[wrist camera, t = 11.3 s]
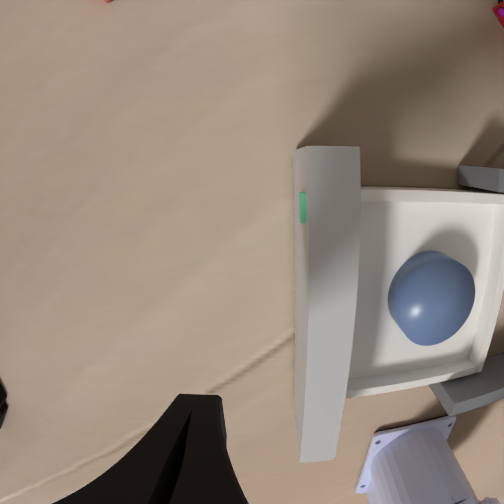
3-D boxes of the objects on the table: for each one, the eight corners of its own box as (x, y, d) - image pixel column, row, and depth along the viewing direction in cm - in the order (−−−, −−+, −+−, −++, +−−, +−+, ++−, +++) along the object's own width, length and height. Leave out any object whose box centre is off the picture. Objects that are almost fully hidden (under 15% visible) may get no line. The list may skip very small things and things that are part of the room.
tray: (464, 379, 20) (495, 418, 15) (290, 406, 21) (296, 463, 16) (499, 163, 16) (554, 169, 11) (288, 151, 16) (301, 145, 11)
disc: (450, 325, 18) (464, 339, 16) (382, 333, 18) (393, 350, 16) (463, 249, 17) (482, 259, 15) (392, 251, 17) (407, 262, 15)
